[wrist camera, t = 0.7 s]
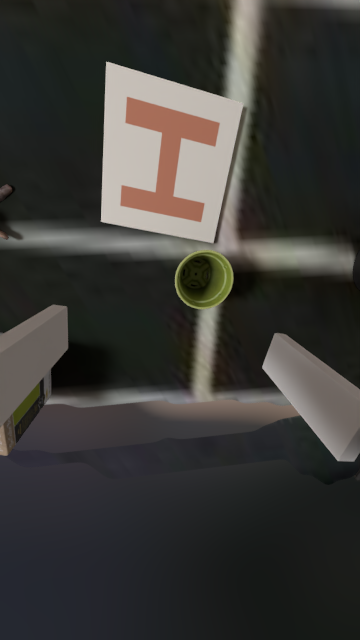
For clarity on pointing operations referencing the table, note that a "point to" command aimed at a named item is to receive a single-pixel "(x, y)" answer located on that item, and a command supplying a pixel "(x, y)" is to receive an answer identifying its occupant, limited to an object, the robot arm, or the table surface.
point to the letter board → (165, 154)
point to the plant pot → (204, 279)
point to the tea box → (24, 414)
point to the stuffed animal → (3, 193)
